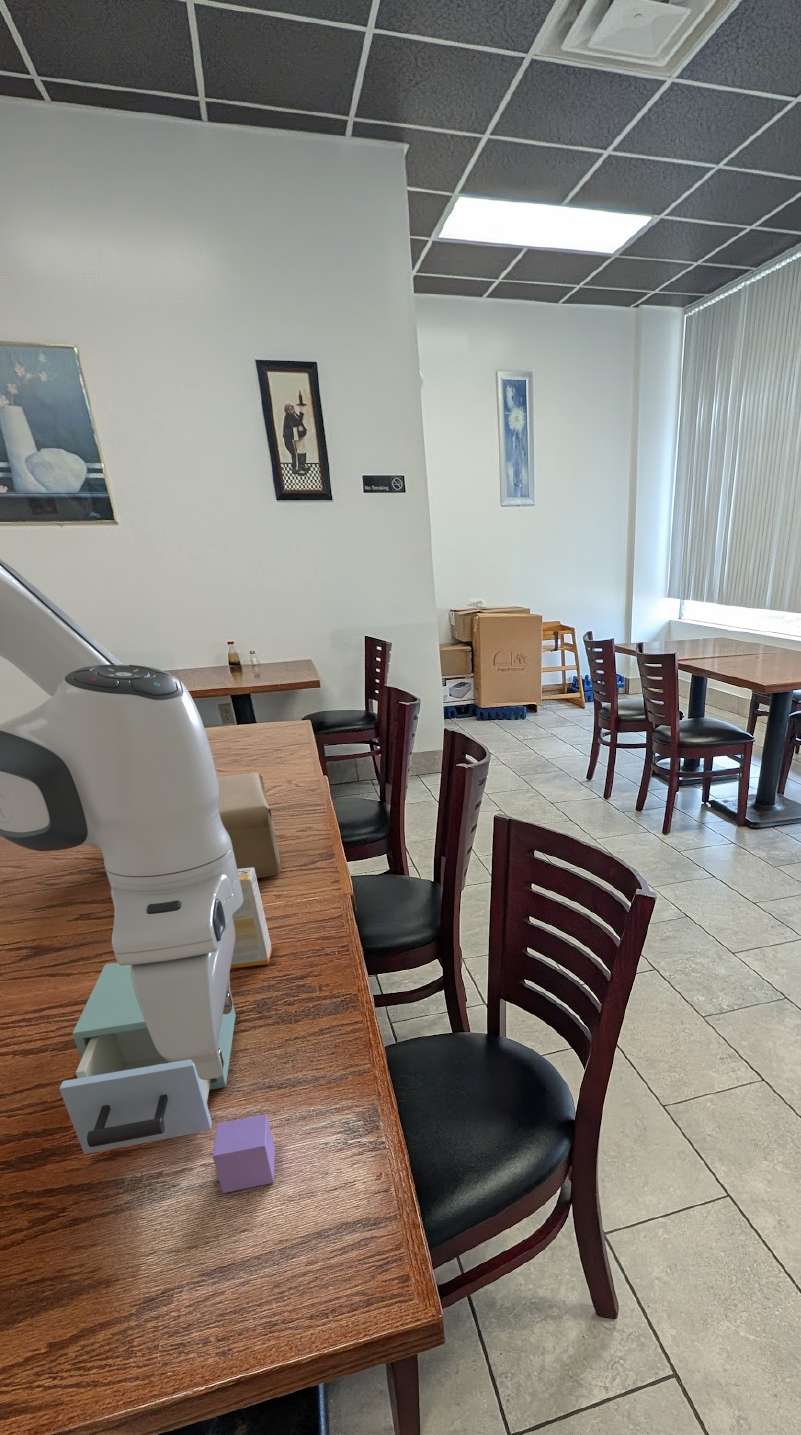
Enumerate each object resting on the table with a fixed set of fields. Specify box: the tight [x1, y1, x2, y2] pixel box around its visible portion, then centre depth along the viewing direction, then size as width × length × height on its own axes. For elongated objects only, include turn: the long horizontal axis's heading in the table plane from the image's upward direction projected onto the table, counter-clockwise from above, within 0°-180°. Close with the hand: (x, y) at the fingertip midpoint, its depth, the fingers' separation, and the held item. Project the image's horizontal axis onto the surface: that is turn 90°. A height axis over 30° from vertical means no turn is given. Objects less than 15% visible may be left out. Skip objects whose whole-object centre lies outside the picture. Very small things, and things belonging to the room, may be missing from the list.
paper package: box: [217, 771, 282, 880], centre depth 136 cm, size 27×26×14 cm
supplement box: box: [230, 868, 273, 970], centre depth 104 cm, size 8×5×13 cm, turn 100°
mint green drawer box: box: [71, 961, 237, 1091], centre depth 84 cm, size 15×13×10 cm
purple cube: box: [212, 1113, 276, 1194], centre depth 69 cm, size 4×4×4 cm
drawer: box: [59, 1028, 213, 1155], centre depth 74 cm, size 18×11×8 cm, turn 15°
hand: (218, 1040), depth 63 cm, fingers open, 8 cm apart
